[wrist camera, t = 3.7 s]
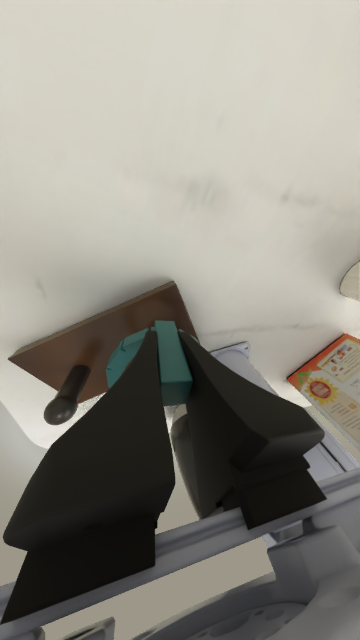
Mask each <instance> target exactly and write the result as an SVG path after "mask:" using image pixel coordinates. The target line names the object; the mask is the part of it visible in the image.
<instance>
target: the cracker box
mask: <svg viewBox="0 0 360 640" xmlns="http://www.w3.org/2000/svg"><path fill="white" fill-rule="evenodd" d="M287 380H288V381H289V382H290V383H291V384H292V385H293V386H294V387H295V388H296V389H297V390H298V391H299V392H300V393H301V394H302V395H303V396H304V397H305V398H306V399H307V400H308V401H309V402H310V403H311V404H312V405H313V406H314V407H315V408H316V409H317V410H318V411H319V412H320V413H321V414H322V415H323V416H324V417H325V418H326V419H327V420H328V421H329V422H330V423H331V424H332V425H333V426H334V427H335V428H336V429H337V430H339V432H341V433H342V435H343V436H345V437H346V438H347V439H348V440H349V441H350V442H351V443H352V444H353V445H354V446H355V447H356V448H357V449H358V450H359V451H360V340H359V339H357V338H355V337H353V336H351V335H348V334H344V335H343V336H342V337H340V338H339V339H338V340H337V341H335V342H334V343H333V344H331V345H330V346H329V347H328V348H326V349H325V350H324V351H322V352H321V353H320V354H319V355H317V356H316V357H315V358H313V359H312V360H311V361H310V362H308V363H307V364H306V365H304V366H303V367H302V368H300V369H299V370H298V371H297V372H295V373H294V374H293V375H291V376H290V377H289V378H288V379H287Z"/></svg>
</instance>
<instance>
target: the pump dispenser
mask: <svg viewBox="0 0 360 640" xmlns="http://www.w3.org/2000/svg"><path fill="white" fill-rule="evenodd" d="M171 439H172V444H173V448H174V452H175V456H176V460H177V463H178V467H179V470H180V473H181V476H182V479H183V482H184V485H185V488H186V490H187V493H188V496H189V498H190V501H191V503H192V505H193V508H194V510H195V512H196V514H197V516H198V518H199V520H202V515H201V510H200V505H199V497H198V488H197V480H196V472H195V463H194V456H193V449H192V442H191V435H190V429H189V422H188V416H187V410H186V405H185V404H180V405H179V406H178V407H177V409H176V411H175V413H174V416H173V421H172V427H171Z"/></svg>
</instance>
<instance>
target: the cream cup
mask: <svg viewBox="0 0 360 640" xmlns="http://www.w3.org/2000/svg"><path fill="white" fill-rule="evenodd" d="M340 292H341V294H342V295H344V296H347V297H349V298H352V299H355V300H357V301H360V261H359V262H358V263H357V264H355V265H354V266H353V267H352V268H351V269H350V270H349V271H348V273H347V274H346V275H345V277H344V279H343V281H342V282H341V286H340Z"/></svg>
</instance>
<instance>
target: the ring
mask: <svg viewBox="0 0 360 640" xmlns="http://www.w3.org/2000/svg"><path fill="white" fill-rule="evenodd" d="M146 331H150V330H149V328H146V329H144V330H142V331H139V332H137V333H135V334H132V335H130V336H128V337H126V338H125V339H124V340H122V341H121V342H120V344H119V345H118V346H117V348H116V349H115V350H114V352H113V353H112V355H111V356H110V359H109V362H108V365H107V368H106V374H107V382H108V387H110V388H111V387H112V386H113V384H114V383H115V382H116V381H117V380H118V378H119V377H120V376H121V375H122V374H123V372H124V371H125V367H126V366H127V365H128V363H129V362H130V361H131V359H132V358H133V357H134V356H135V355H136V353H137V351H138V350H139V348H140V346H141V344H142V342H143V339H144V337H145V333H146ZM151 331H157V334H158V347H157V365H158V373H159V381H160V388H161V394H162V400H163V406H171V405H180V404H186V403H187V400H188V396H189V393H190V389H191V386H192V383H193V379H192V376H191V373H190V370H189V366H188V363H187V360H186V357H185V354H184V351H183V348H182V345H181V342H180V339H179V336H178V331H183V330H181V329H178V330H177V328H176V326H175V323H174V321H155V327H151ZM189 335H190V334H189ZM192 337H193V336H192ZM193 338H194V339H195V340H196V341H197V339H196V338H195V337H193ZM197 342H198V343H199V341H197ZM199 344H200V343H199Z"/></svg>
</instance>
